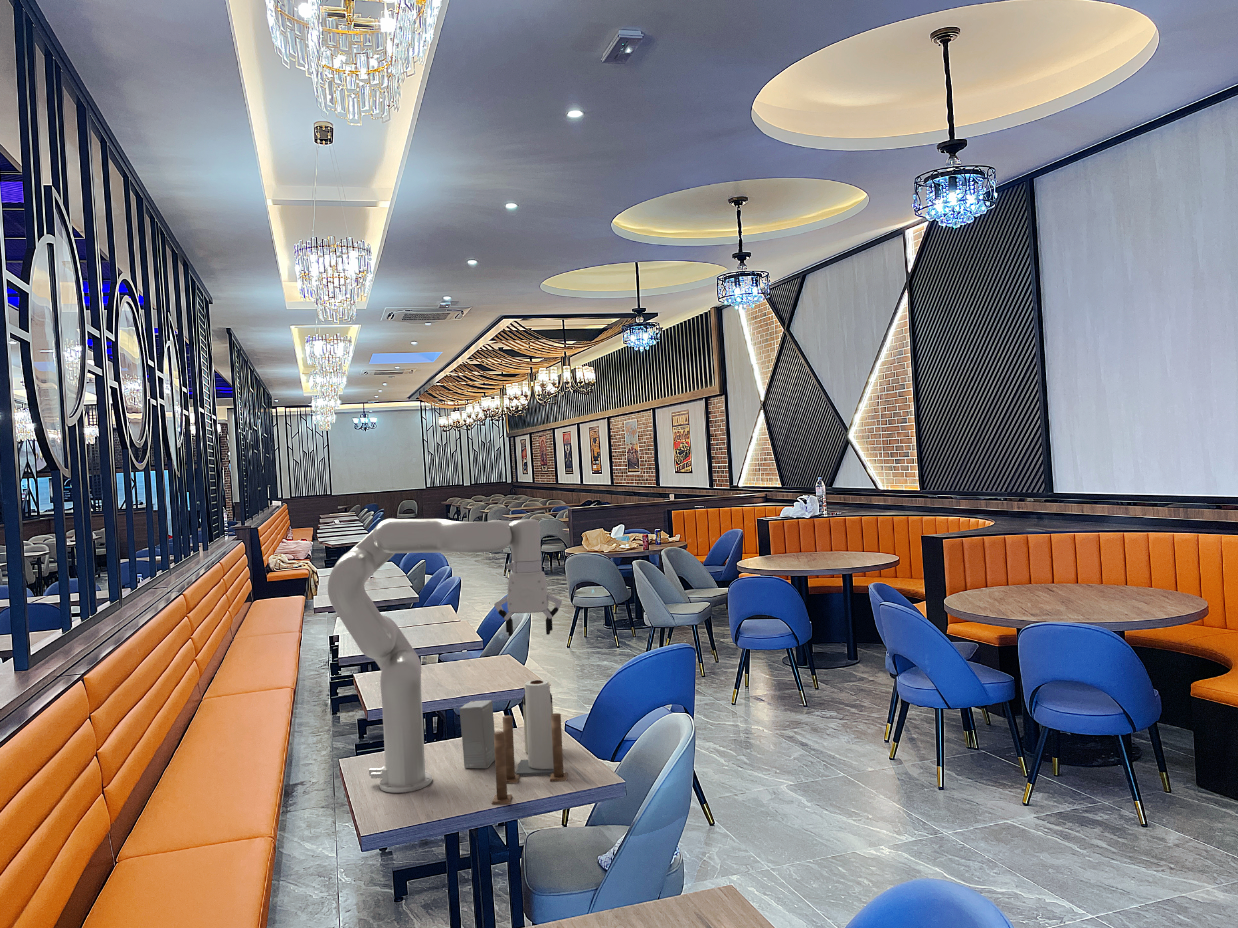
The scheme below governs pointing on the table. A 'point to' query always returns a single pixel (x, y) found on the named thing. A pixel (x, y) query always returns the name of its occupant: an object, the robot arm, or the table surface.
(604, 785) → the table surface
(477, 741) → the skincare box
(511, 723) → the post
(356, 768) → the table surface
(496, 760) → the post
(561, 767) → the post
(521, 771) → the mat
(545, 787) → the table surface
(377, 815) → the table surface
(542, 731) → the paper towel roll
